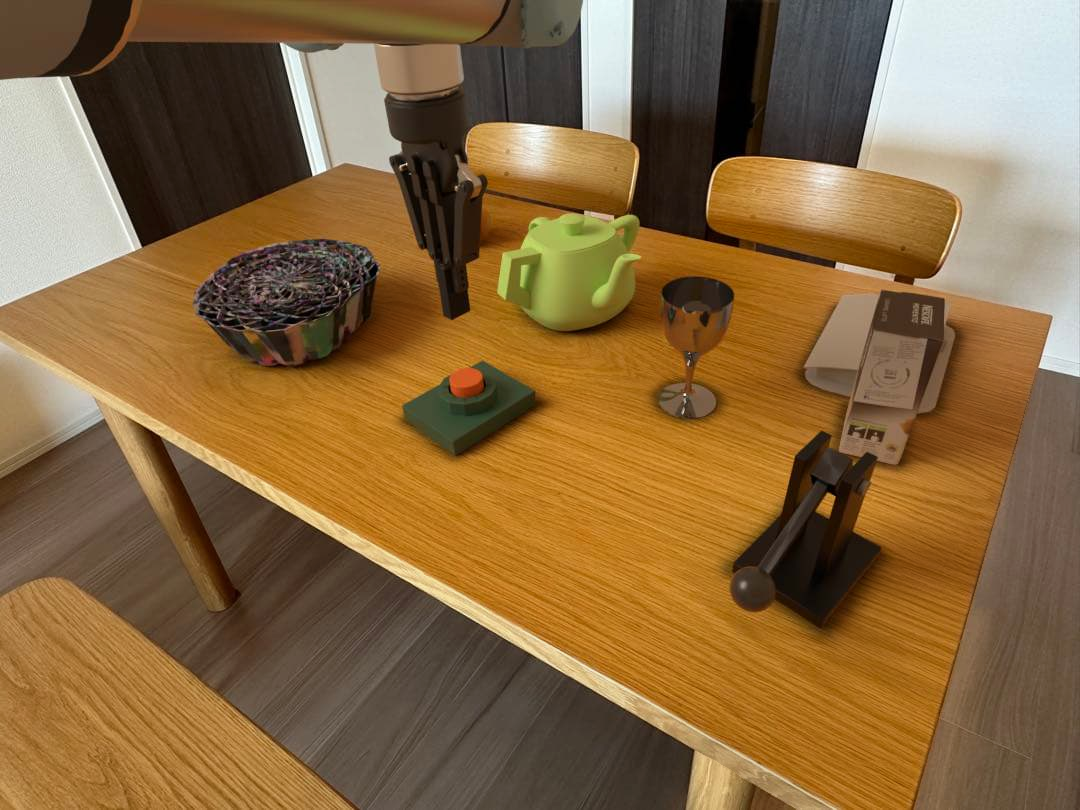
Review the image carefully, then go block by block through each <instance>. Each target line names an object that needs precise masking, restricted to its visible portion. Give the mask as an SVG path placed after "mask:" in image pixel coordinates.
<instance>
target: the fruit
mask: <svg viewBox="0 0 1080 810" xmlns="http://www.w3.org/2000/svg"><path fill="white" fill-rule="evenodd" d="M491 220H492V219H491V216H490V214H489V212H488V210H487V208H486V207H484V206H483V205H482V215H481V233H480V242H483V240H485V239H486V238H487V236H488V235H489V233H490V230H491V226H492V225H491V224H492V221H491Z"/></svg>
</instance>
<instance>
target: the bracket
mask: <svg viewBox="0 0 1080 810" xmlns="http://www.w3.org/2000/svg"><path fill="white" fill-rule="evenodd" d="M832 437H833V435H832V434H830V433H828V432H826V431H825V430H820V431H819V432H818V433H817V434H816V435H814V437H813V438H812V439H811V440H810V441H809V442H807V443H806V445H804V446H803V447H802V448H801V449H800V450H798V452H797V453H796V454H795V455H794V458H793V464H792V467H791V471H790V476H789V480H788V484H787V488H786V492H785V496H784V499H783V500H784V501H783V506H782V508H781V509H782V510H781V513H780V514H779V516H778V517H777V518H776V519H775V520H774V521H773V522H772V523H771V524H770V525H768V527H767V528H766V529H765V530H764V531H763V532H762V533H761V534H760V535H758V537H757V538H756V539H755V540H754V541H753V542H752V543H751V545H749V546H748V547H747V548H746V549H745V550H744V551H743V553H742V554H740V556H738V558H737V559H735V561H734V562H733V563H732V569H731V572H732V573H733V574H735V573H736V572H737V571H738V570H740V569H742V568H744V567H749V566H753V567H758V566H759V564H760V563H761V561H762V560H763V558H764V557H765V555H766V554H767V552H768V551H769V549H770V548H771V546H772V545H773V543H774V542H775V541H776V539H777V538H778V536H779V535H780V533H781V532H782V530H783V529H784V527H785V526H786V524H787V523H788V521H789V520H790V518H791V517H792V515H793V514H794V513H795V511H796V510H797V508H798V507H799V505H800V504H801V502H802V501H803V499H804V498H805V496H806V495H807V493H808V492H809V490H810V489H811V487H812V486H813V484H812V481H811V476H810V472H811V471H812V469H813V468H814V466H815V465H816V463H817V462H818V461H819V459H820V458H821V456H822V455H823V453H824V452H825V450H826V449H827V447H829V448H830V444H831V440H832ZM877 459H878V457H877V456H875V455H873V454H871V453H869V452H866V453H865V454H864V455H863V456H862V457H859V459H858V460H857V461H856V462H855V463H853V467H852V468H851V469H850V470H849V471H848V472H847V473H846V474H845V475H844V476H843V477H842V478H841V481H840V484H839V487H838V491H837V494H836V496H834V501H833V504H832V508H831V511H830V513H829V517H826V516H824V515H823V514H821V513H819V512H818V511H815V512H814V514H813V515H812V517H811V518H810V520H809V521H808V523H807V524H806V526H805V527H804V529H803V530H802V532H801V533H800V535H799V536H798V538H797V539H796V541H795V542H794V544H793V545H792V547H791V548H790V550H789V551H788V553H787V554H786V555H785V557H784V558H783V560H782V561H781V563H780V564H779V566H778V567H777V569H776V570H775V572H774V573H773V575H772V576H771V577H772V579H773V580H774V582H775V586H776V597H775V599H774V601H775V600H776V601H777V602H778V603H780V604H782V605H783V606H785V607H786V608H788V609H789V610H791V611H792V612H793V613H796V614H797V615H798V616H800V617H801V618H803V619H805V620H806V621H808V622H809V623H811V624H812V625H814V626H815V627H817V628H819V629H822V628H823V627H824V626H825V624H826V623H827V622H828V620H829V619H830V618H831V617H832V616H833V614H834V613H835V612H836V611H837V610H838V608H839V607H840V606H841V604H842V603H843V602H844V601H845V599H846V598H847V597H848V595H849V594H850V593H851V592H852V590H853V589H854V588H855V587H856V586H857V584H858V583H859V582H860V580H861V579H862V578H863V577H864V575H866V573H867V572H868V570H870V568H871V567H872V566H873V564H874V563H875V561H877V559H879V557H880V554H881V551H882V549H883V548H882V546H880V545H879V544H877V543H875V542H872V541H871V540H869V539H868V538H865V537H863V536H862V535H859V534H858V533H857V532H854V530H855V527H856V524H857V520H858V519H859V514H860V512H861V509H862V506H863V504H864V500H865V498H866V494H867V493H868V491H869V489H870V488H871V484H872V481H871V479H872V477H873V473H874V470H875V467H876V464H877V462H878V461H877Z"/></svg>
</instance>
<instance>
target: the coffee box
mask: <svg viewBox="0 0 1080 810" xmlns="http://www.w3.org/2000/svg"><path fill="white" fill-rule="evenodd" d="M878 294H879V298H878V301H877V304H876V308H875V311H874V315H873V318H872V322H871V325H870V329H869V332H868V336H867V339H866V343H865V346H864V350H863V354H862V357H861V361H860V364H859V368H858V372H857V376H856V379H855V383H854V386H853V390H852V394H851V397H849V402H848V404H847V405H848V406H847V410H846V414H845V416H844V417H845V418H844V423H843V427H842V432H841V437H840V443H839V447H838V452H840V453H842V454H844V455H849V456H853V457H854V456H855V457H858V458H861V457H862V456H863V455H864V454H865V453H866V452H869V453H871V454H873V455H875V456H877V457H878V459H877V462H881V463H883V464H884V463H885V464H889V465H893V466H897V465H899V463H900V461H901V458H902V457H903V453H904V450H905V449H906V445H907V443H908V439H909V437H910V434H911V431H912V428H913V426H914V424H915V421H916V418H917V415H918V414H917V412H918V410H919V407H920V404H921V401H922V399H923V396H924V394H925V391H926V388H927V385H928V382H929V380H930V377H931V374H932V371H933V369H934V366H935V363H936V360H937V357H938V355H939V352H940V349H941V346H942V344H943V342H944V310H945V301H946V300H945V298H944V297H940V296H933V295H928V294H922V293H915V292H908V291H900V292H899V291H893V290H886V289H880V291H879V293H878Z"/></svg>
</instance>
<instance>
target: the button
mask: <svg viewBox="0 0 1080 810" xmlns="http://www.w3.org/2000/svg"><path fill="white" fill-rule="evenodd" d="M450 375H451V376H450V378H449V381H450V387H451V392H452V394H453V395H454V396H456V397H460V398H469V397H474V396H477V395H479V394H480V393H482V391H483V389H484V383H483V376H482V373H481V372H480V371H479V370H477V369H473V368H470V367H465V368H460V369H457V370H455V371H453V372H452V373H451V374H450Z"/></svg>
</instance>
